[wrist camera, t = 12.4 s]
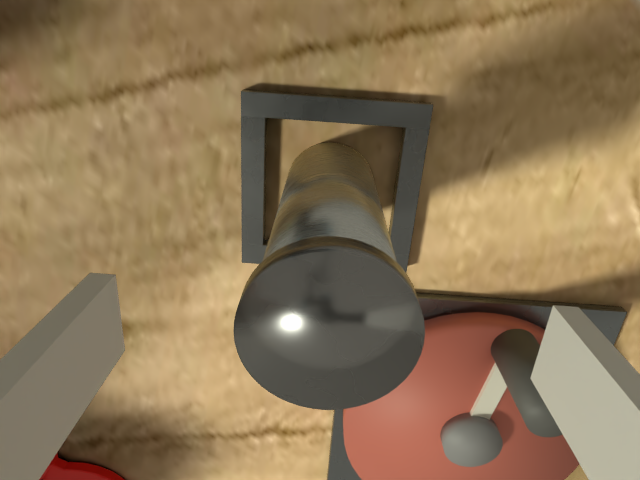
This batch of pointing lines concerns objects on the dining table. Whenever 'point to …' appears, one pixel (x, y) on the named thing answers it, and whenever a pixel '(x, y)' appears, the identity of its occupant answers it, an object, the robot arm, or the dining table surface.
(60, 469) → the tow hook
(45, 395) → the robot arm
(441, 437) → the red disc with handle
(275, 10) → the dining table surface
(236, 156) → the dining table surface
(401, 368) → the metal peg
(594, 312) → the wheel base
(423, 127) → the grey flat square frame
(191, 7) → the dining table surface
